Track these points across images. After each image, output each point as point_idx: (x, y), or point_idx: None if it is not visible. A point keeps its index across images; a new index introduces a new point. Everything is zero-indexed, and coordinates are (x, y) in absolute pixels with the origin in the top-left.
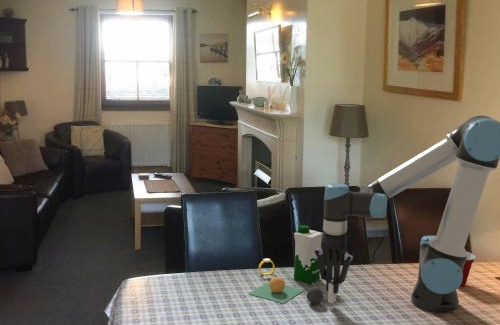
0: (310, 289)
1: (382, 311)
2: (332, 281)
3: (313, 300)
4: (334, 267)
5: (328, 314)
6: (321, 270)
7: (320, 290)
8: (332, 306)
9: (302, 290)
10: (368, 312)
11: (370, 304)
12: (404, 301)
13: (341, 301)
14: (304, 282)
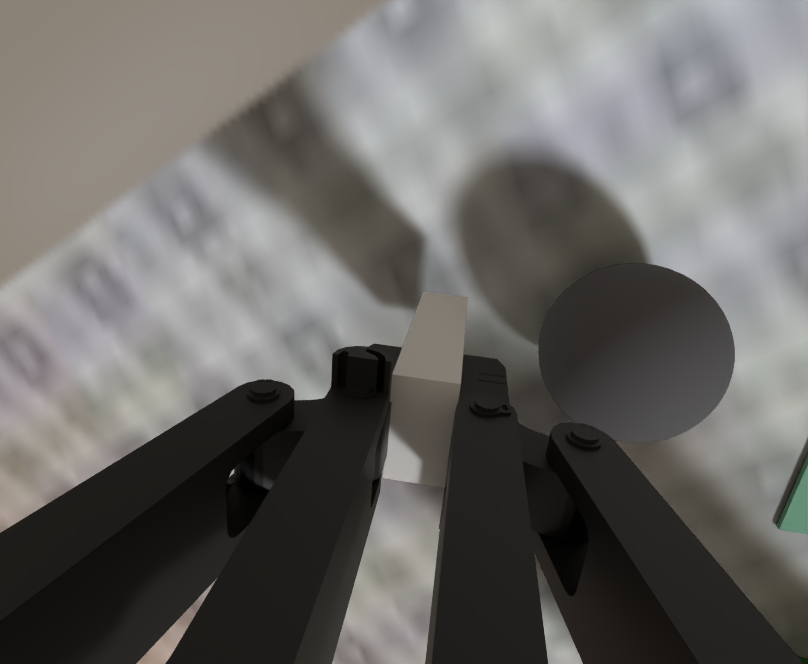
0: (708, 350)
1: (100, 413)
2: (437, 472)
3: (618, 265)
4: (292, 595)
5: (417, 153)
6: (649, 538)
7: (581, 381)
8: None
9: (788, 519)
10: (165, 354)
11: None
12: None
13: None
14: (803, 661)
